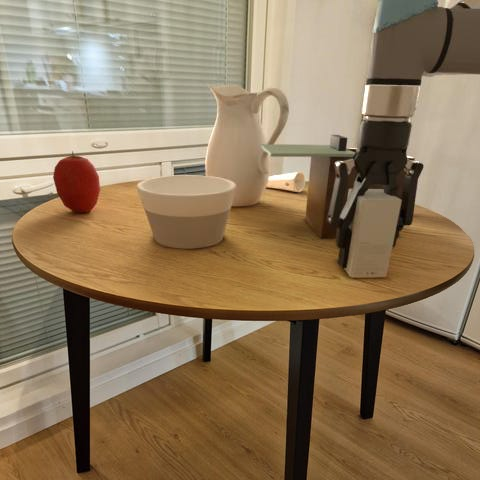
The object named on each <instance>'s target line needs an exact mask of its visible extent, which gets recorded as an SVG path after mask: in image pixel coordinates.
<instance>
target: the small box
mask: <svg viewBox="0 0 480 480" xmlns="http://www.w3.org/2000/svg"><path fill="white" fill-rule="evenodd" d="M351 191H352V189H349V191H348V197H349V195H350V193H351ZM347 200H348V198H347ZM401 202H402V200H401V199H399V198H397V197H396V196H390V195H388V194H386V193H384V189H368V190H367V191H366V192H365V194H364V196H358V198H357V204H356V210H355V215H354V217H353V219H352V221H351V223H350V225H349V227H348V228H349V229H351V230H352V237H351V243H350V250H349V256H348V262H347V268H343V269H344V271H345V272H346V273H347V274H348V276H349V277H350V278H352V279H353V278H358V279H359V278H363V279H364V278H365V279H366V278H367V279H369V278H371V279H373V278H387V277H388V276H387V275H388V271H389V267H390V262H391V256H392V252H393V248H394V247H393V242H394V237H395V232H396V227H397V222H398V217H399V212H400V207H401Z"/></svg>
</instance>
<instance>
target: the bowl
mask: <svg viewBox="0 0 480 480" xmlns="http://www.w3.org/2000/svg"><path fill="white" fill-rule="evenodd" d="M136 189H137V192H138V195H139V198H140V201H141V205H142V206H143V208H144V212H145V215H146V217H147V221H148V224H149V227H150V229H151V230H150V231H151V232H152V235H153V239H154V240H155V242H156V243H157V244H159V245H162V246H164V247H168V248H173V249H183V250H184V249H185V250H187V249H188V250H189V249H191V250H192V249H193V250H194V249H202V248H208V247H212V246H214V245H215V246H216V245H217V244H219V243H220V242H222V241H223V239H224V237H225V236H224V235H225V232H226V228H227V224H228V220H229V216H230V213H231V208H232V206H231V205H232V201H233V197H234V193H235V189H236V184H235V183H234V182H232V181H230V180H227V179H223V178H219V177H212V176H206V175H199V174H175V175H162V176H156V177H151V178H147V179H144V180H141V181H139V182H138V183H137V184H136Z"/></svg>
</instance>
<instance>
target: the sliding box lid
mask: <svg viewBox="0 0 480 480" xmlns="http://www.w3.org/2000/svg"><path fill="white" fill-rule="evenodd" d="M347 145H348V137H346V136H343V135H340V134H330V139H329V144H279V143H278V144H275V143H274V144H261V148H262V149H263V150H264V151H265V152H267V153H268V154H269V155H270V158H272V157H273V158H274V157H275V158H276V157H277V158H278V157H282V158H285V157H287V158H289V157H290V158H294V157H295V158H296V157H297V158H311V157H353V156H354V154H355V152H353V151H350V150H348V149H346V148H347Z"/></svg>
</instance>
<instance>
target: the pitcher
mask: <svg viewBox="0 0 480 480" xmlns="http://www.w3.org/2000/svg"><path fill="white" fill-rule="evenodd" d="M206 85H207V87H208V88H209V89H210V91H211V93H212V94H213V96H214V99H215V101H216V105H217V111H216V119H215V121H214V125H213V128H212V131H211V134H210V137H209V140H208V144H207V148H206V154H205V162H204V171H205V176H212V177H219V178H223V179H227V180H230V181H232V182H234V183H235V184H236V189H235V193H234V197H233V201H232V205H231V207H250V206H253V205H256V204H258V203H259V201H260V200H261V198H262V197H263V194H264V193H265V191H266V188H267V187H266V186H267V184H268V180H269V176H270V173H271V156H270V155H269V154H268V153H267V152H265V151H264V150H263V149H262V148H261V144H275V143H276V141H277V140H278V138H279V137H280V136H281V134H282V132H283V130H284V128H285V127H286V124H287V121H288V119H289V113H290V105H289V100H288V97H287V96H286V94H285V92H283V90H281V89H280V88H278V87H268V88H264V89H263V90H261V91H260V92H250V91H249V90H246V89H245V88H243V87H242V86H240V85H237V84H226V85H219V86H212V85H211V84H210V83H207V84H206ZM270 96H272V97H273V98H275V99H276V100H277V103H278V104H279V117H278V121H277V124H276V127H275V128H274V130H273V132H272V134H271V135H270V138H269V139H268V141H267V138H266V135H265V132H264V128H263V124H262V121H261V116H260V115H261V114H260V110H261V107H262V105H263V103H264V102H265V100H266V99H268V98H269V97H270Z"/></svg>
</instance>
